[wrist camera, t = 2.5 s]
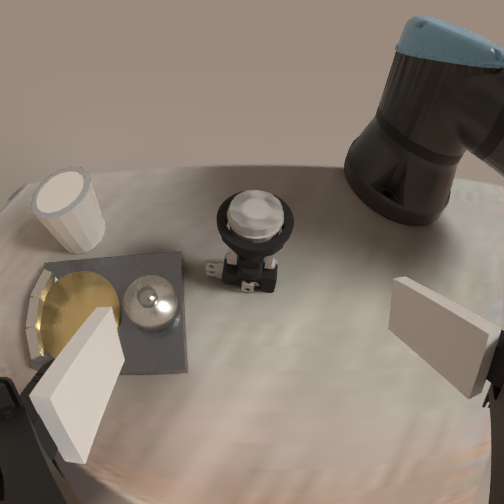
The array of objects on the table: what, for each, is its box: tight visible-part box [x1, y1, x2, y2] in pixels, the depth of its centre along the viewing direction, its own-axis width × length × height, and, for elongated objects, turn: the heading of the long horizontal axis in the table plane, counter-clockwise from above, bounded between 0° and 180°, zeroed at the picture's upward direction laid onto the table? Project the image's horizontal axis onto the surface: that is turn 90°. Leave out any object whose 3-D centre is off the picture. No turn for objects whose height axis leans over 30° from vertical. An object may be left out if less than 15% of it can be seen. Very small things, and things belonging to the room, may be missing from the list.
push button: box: [205, 190, 294, 293], centre depth 25 cm, size 7×5×10 cm
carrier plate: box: [25, 251, 188, 375], centre depth 24 cm, size 15×11×4 cm
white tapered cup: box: [31, 167, 106, 254], centre depth 28 cm, size 7×7×7 cm
